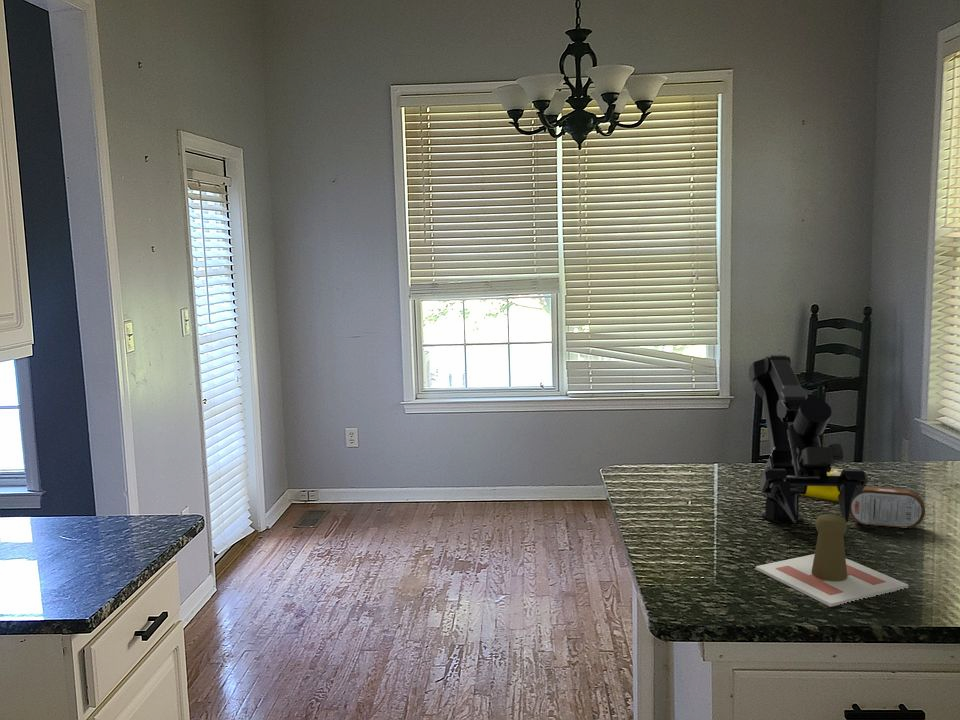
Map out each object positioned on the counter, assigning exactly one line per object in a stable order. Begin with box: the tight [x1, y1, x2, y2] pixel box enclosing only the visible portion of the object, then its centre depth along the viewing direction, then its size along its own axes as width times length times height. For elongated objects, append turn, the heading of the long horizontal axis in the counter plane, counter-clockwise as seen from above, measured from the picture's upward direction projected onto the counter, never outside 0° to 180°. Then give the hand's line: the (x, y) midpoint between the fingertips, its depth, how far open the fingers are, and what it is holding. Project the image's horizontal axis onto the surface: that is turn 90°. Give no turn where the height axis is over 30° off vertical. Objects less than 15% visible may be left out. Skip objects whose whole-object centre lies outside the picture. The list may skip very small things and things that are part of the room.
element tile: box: [799, 467, 844, 502], centre depth 203 cm, size 15×15×5 cm
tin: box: [849, 485, 926, 529], centre depth 175 cm, size 15×3×8 cm, turn 71°
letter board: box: [755, 553, 909, 608], centre depth 149 cm, size 18×18×1 cm
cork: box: [811, 513, 848, 581], centre depth 148 cm, size 6×6×11 cm
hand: (820, 521), depth 154 cm, fingers open, 9 cm apart
